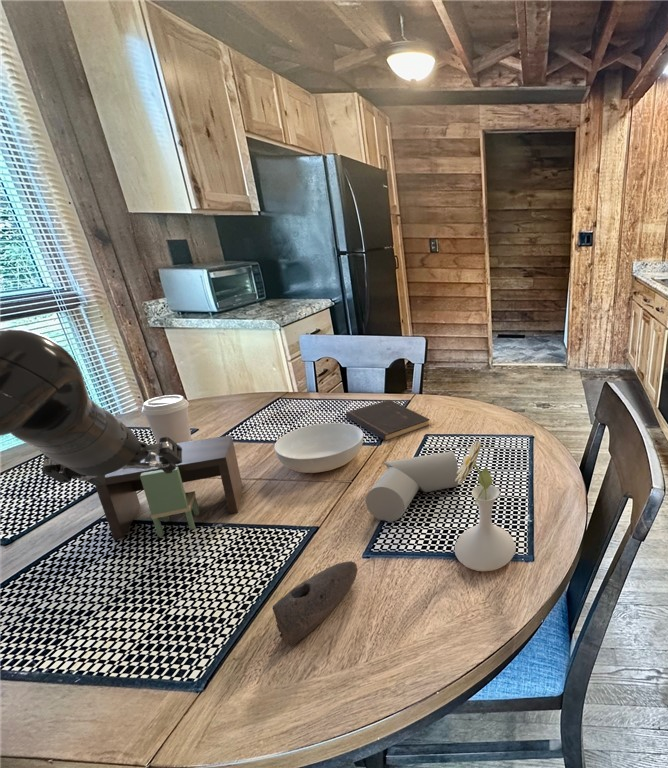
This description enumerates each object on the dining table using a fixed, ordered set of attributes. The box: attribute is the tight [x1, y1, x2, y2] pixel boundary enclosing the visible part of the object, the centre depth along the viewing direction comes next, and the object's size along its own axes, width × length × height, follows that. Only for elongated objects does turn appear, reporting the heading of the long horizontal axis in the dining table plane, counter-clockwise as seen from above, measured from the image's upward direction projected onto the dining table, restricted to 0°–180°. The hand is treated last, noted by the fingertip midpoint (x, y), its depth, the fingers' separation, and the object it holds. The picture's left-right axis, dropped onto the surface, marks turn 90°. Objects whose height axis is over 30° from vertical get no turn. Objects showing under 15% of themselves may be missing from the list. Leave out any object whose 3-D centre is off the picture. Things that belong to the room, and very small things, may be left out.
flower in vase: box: [454, 440, 516, 572], centre depth 74 cm, size 13×11×25 cm
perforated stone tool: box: [272, 561, 358, 648], centre depth 64 cm, size 15×5×7 cm, turn 152°
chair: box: [140, 467, 200, 538], centre depth 81 cm, size 6×6×14 cm
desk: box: [94, 435, 243, 541], centre depth 86 cm, size 11×20×14 cm, turn 117°
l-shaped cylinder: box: [365, 450, 460, 522], centre depth 94 cm, size 18×11×20 cm
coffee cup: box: [141, 394, 193, 444], centre depth 108 cm, size 10×10×15 cm
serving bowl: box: [273, 422, 364, 474], centre depth 107 cm, size 21×21×7 cm
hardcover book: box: [346, 399, 431, 442], centre depth 133 cm, size 16×23×2 cm
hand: (137, 473), depth 68 cm, fingers open, 8 cm apart
